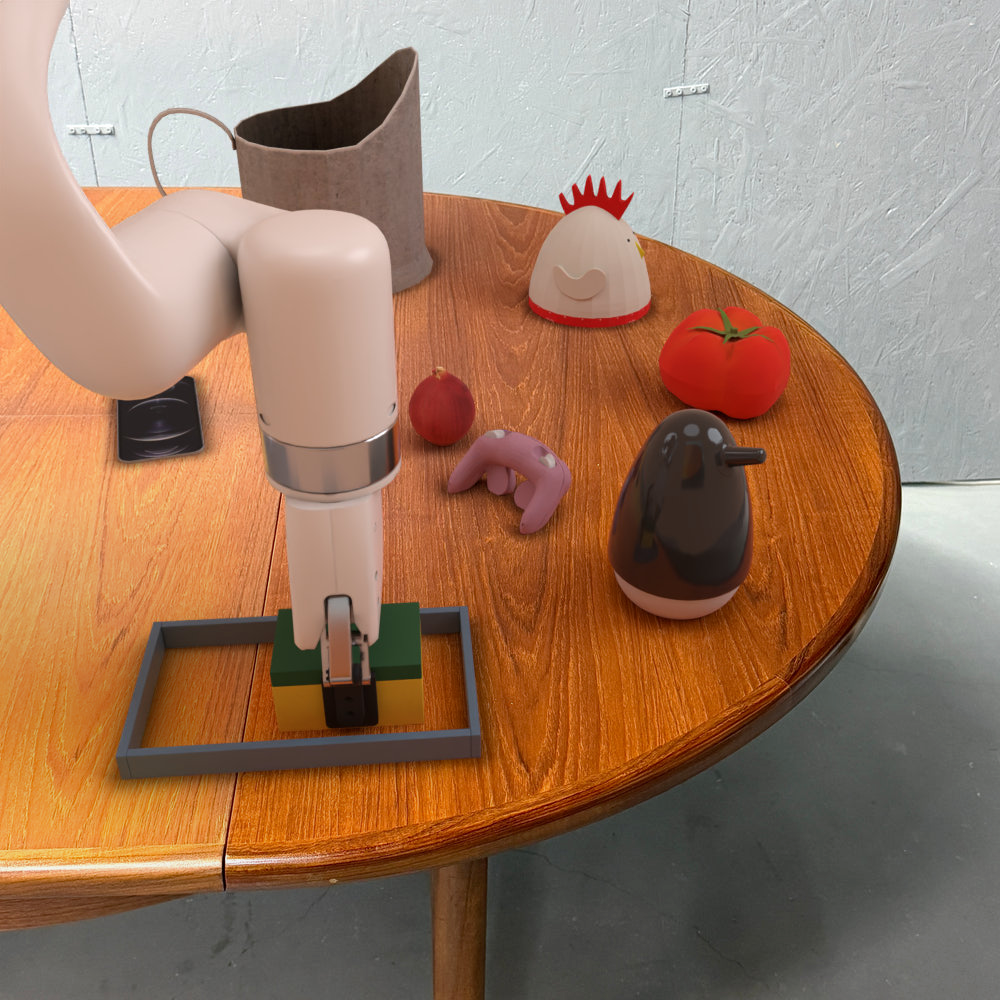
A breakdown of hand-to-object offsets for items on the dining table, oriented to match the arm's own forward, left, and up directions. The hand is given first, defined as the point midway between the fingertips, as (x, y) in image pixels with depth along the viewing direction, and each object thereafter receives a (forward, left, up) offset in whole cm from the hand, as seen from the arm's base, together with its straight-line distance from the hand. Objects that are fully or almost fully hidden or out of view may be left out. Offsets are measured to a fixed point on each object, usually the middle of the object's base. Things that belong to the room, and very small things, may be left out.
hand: (354, 684), depth 69 cm
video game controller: (+12, +22, -2) cm, 25 cm away
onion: (+7, +32, -2) cm, 33 cm away
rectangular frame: (-3, 0, -1) cm, 3 cm away
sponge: (0, 0, -1) cm, 1 cm away
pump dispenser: (+23, +9, -2) cm, 25 cm away
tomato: (+34, +38, -2) cm, 51 cm away
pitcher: (-8, +75, -2) cm, 75 cm away
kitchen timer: (+25, +62, -2) cm, 67 cm away
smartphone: (-19, +38, -1) cm, 43 cm away
